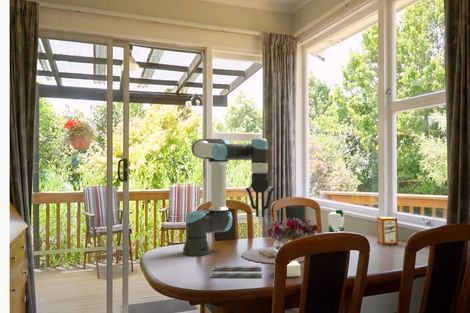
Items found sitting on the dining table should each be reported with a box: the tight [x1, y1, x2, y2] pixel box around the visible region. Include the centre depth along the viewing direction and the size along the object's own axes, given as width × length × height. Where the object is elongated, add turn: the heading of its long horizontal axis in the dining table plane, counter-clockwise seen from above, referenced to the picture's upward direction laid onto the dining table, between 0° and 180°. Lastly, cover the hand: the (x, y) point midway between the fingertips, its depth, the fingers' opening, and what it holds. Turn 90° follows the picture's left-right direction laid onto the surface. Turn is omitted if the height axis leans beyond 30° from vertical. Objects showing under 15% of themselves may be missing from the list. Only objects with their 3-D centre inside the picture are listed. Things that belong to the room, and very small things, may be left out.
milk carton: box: [327, 209, 345, 233], centre depth 229 cm, size 9×9×20 cm
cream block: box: [287, 260, 302, 277], centre depth 162 cm, size 10×7×5 cm
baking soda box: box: [376, 216, 399, 245], centre depth 222 cm, size 10×6×16 cm
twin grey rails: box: [211, 265, 263, 279], centre depth 164 cm, size 22×12×2 cm, turn 87°
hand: (260, 224), depth 164 cm, fingers closed
